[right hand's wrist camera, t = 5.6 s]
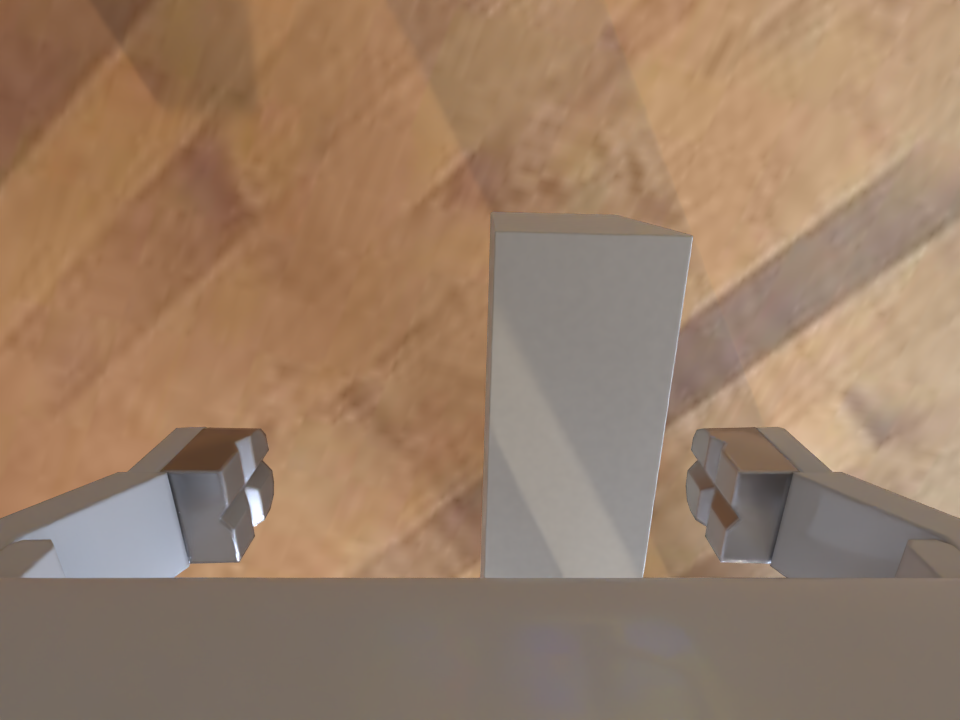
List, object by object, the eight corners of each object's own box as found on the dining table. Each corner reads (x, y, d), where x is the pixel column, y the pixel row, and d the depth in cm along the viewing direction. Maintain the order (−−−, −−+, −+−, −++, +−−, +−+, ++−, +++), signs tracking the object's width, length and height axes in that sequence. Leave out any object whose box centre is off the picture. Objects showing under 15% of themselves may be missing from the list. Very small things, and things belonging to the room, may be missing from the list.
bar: (490, 211, 21) (494, 230, 13) (616, 214, 21) (694, 235, 13) (476, 707, 30) (474, 896, 22) (566, 709, 30) (596, 898, 22)
